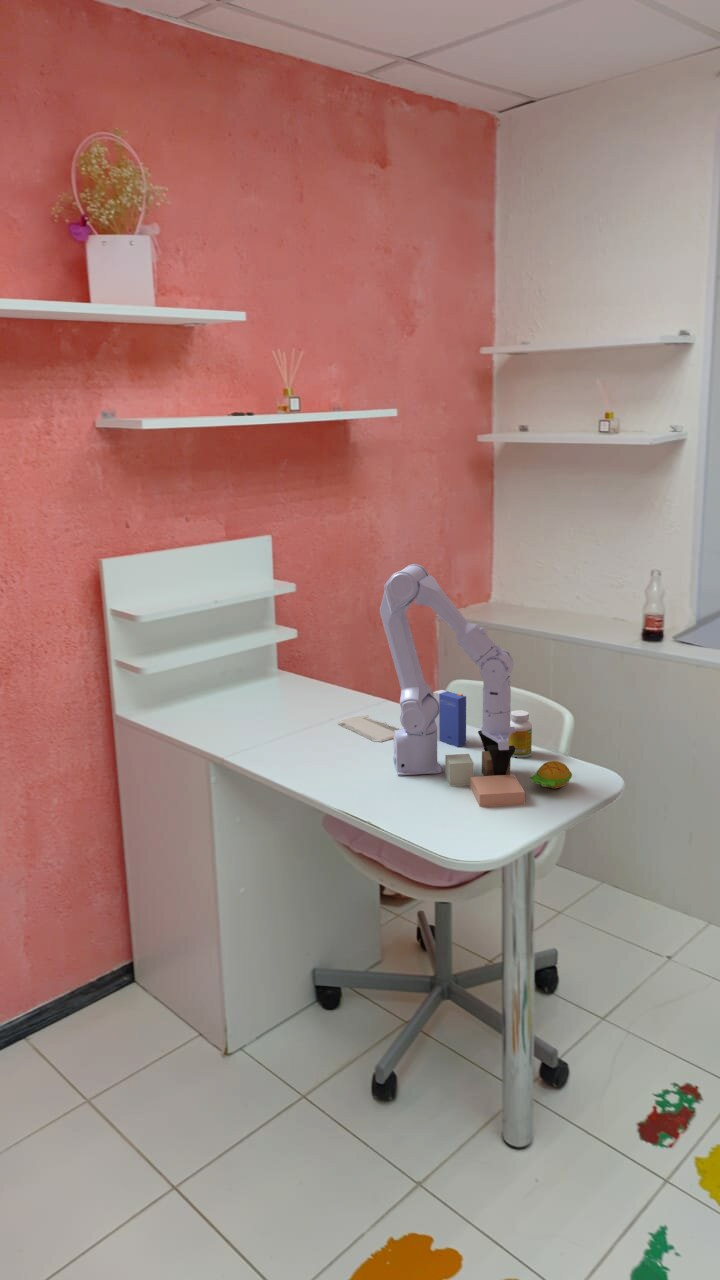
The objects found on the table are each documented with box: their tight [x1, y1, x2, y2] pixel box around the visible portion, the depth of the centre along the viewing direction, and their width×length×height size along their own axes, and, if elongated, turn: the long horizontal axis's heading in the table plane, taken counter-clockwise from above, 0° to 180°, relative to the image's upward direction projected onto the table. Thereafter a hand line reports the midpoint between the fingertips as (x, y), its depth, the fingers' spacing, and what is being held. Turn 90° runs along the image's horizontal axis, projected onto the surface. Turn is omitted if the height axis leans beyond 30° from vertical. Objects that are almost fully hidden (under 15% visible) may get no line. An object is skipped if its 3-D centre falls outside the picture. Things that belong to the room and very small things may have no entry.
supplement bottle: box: [509, 709, 533, 759], centre depth 215 cm, size 5×5×10 cm
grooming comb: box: [336, 715, 402, 743], centre depth 235 cm, size 18×10×1 cm, turn 35°
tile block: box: [470, 774, 526, 808], centre depth 194 cm, size 9×9×3 cm
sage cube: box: [444, 753, 474, 787], centre depth 202 cm, size 5×5×5 cm
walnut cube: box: [481, 750, 512, 776], centre depth 203 cm, size 5×5×5 cm
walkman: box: [432, 689, 467, 748], centre depth 223 cm, size 8×3×12 cm, turn 43°
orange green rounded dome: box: [529, 760, 573, 789], centre depth 196 cm, size 7×10×5 cm
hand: (495, 770), depth 203 cm, fingers open, 7 cm apart
